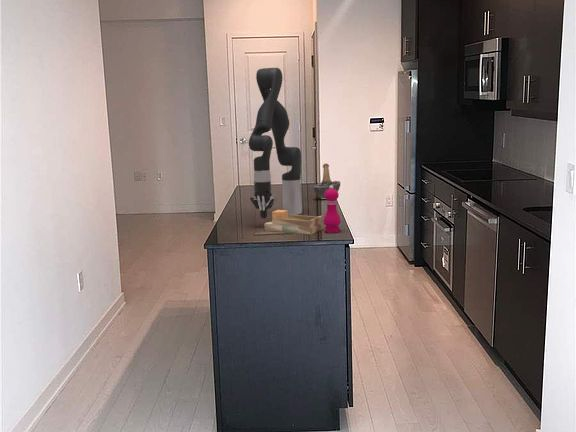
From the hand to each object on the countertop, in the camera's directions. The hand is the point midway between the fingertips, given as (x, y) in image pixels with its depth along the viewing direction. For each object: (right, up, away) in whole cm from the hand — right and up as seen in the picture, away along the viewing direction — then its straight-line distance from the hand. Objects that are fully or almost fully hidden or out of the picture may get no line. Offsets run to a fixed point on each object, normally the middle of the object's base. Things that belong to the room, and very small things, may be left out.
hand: (263, 218), depth 276 cm
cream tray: (+13, -5, -6) cm, 16 cm away
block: (+8, -2, -4) cm, 9 cm away
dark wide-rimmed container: (+33, +11, +72) cm, 80 cm away
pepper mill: (+30, -6, -12) cm, 33 cm away
